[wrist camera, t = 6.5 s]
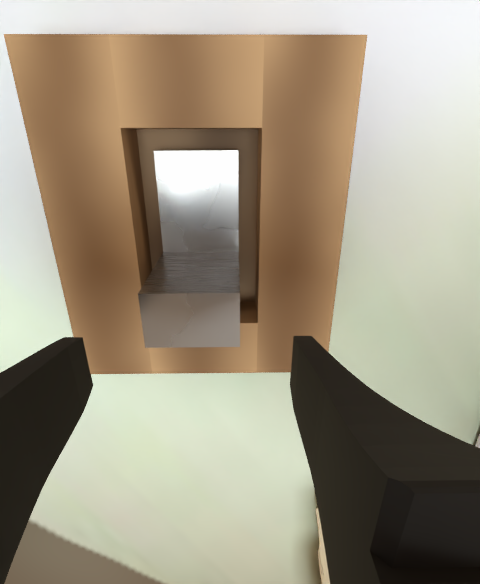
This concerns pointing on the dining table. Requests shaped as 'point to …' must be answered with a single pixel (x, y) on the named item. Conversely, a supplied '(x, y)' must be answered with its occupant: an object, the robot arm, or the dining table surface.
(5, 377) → the robot arm
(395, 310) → the dining table surface
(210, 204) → the steel bracket
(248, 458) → the dining table surface
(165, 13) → the dining table surface
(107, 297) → the oak well block
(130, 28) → the dining table surface
